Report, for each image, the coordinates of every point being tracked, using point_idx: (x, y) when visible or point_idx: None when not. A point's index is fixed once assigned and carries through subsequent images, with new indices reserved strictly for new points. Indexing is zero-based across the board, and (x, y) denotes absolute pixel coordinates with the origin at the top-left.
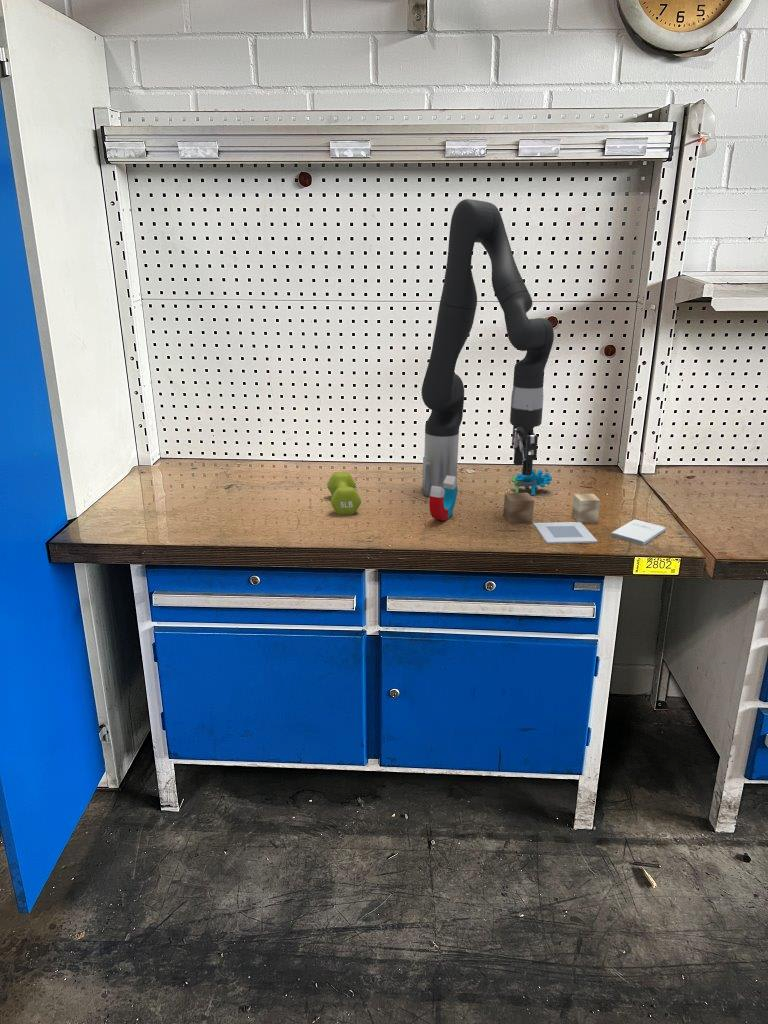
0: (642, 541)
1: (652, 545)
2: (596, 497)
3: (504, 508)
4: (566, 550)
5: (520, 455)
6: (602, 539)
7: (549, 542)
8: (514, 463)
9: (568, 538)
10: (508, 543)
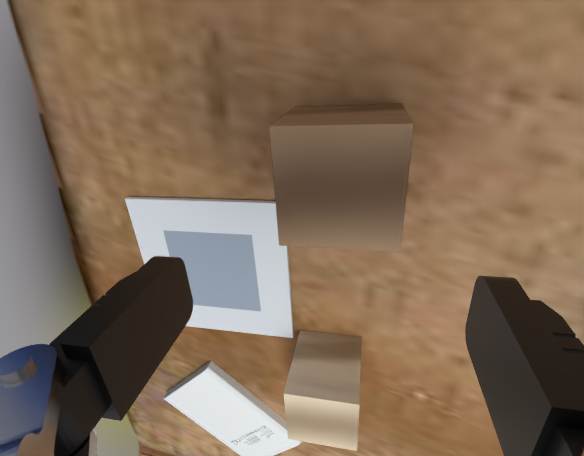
0: (164, 398)
1: None
2: (316, 442)
3: (387, 109)
4: (96, 233)
5: (500, 403)
6: (187, 337)
7: (127, 205)
8: (485, 282)
9: None
10: (97, 63)
